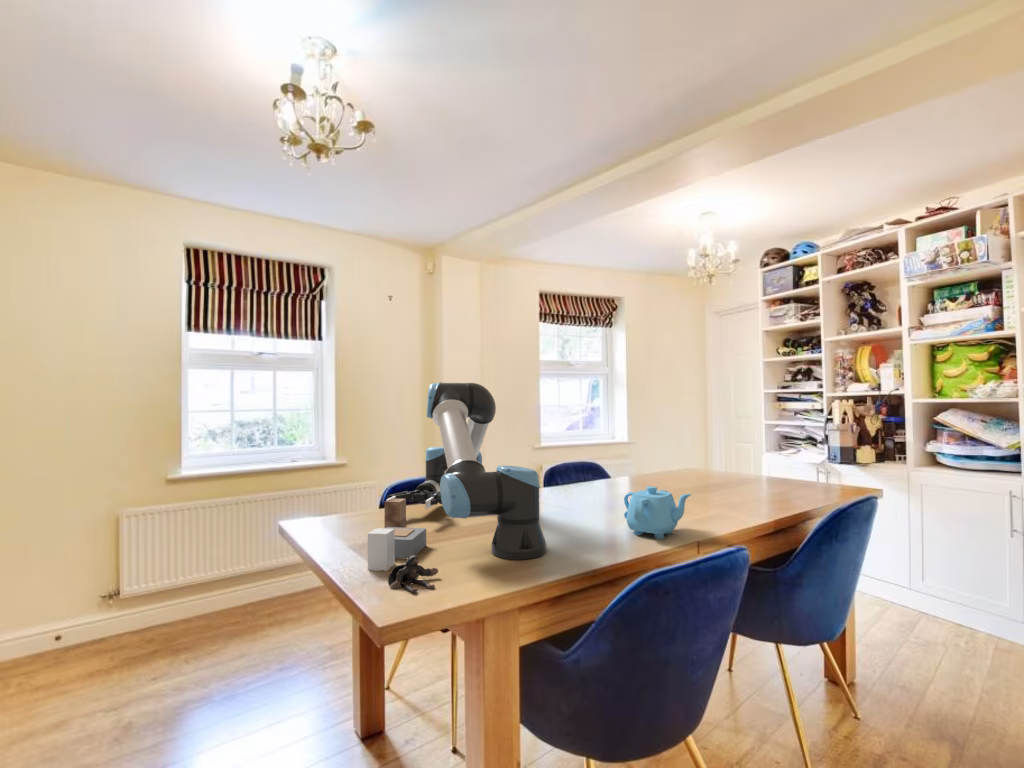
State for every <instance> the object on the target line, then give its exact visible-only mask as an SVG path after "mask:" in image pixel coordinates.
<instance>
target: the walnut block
mask: <svg viewBox="0 0 1024 768" xmlns="http://www.w3.org/2000/svg"><path fill="white" fill-rule="evenodd" d="M386 500H387V499H386ZM386 500H385V501H384V529H385V528H386V527H399V528H407V510H406V509H407V501H406V499H393V498H391V499H389V500H387V501H386Z"/></svg>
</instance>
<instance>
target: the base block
mask: <svg viewBox="0 0 1024 768" xmlns="http://www.w3.org/2000/svg"><path fill="white" fill-rule="evenodd" d="M384 529H395V559H402V558H409V557H410V556H414V555H415V556H417V555H418V554H419V553H420V552H421V551H422V550H423V549H424V548H426V547H427V528H426V527H406V528H399V527H386V528H385V527H384ZM425 546H426V547H425ZM416 554H417V555H416Z"/></svg>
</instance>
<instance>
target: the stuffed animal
mask: <svg viewBox="0 0 1024 768" xmlns="http://www.w3.org/2000/svg"><path fill="white" fill-rule="evenodd" d="M438 573H439V568H437V567H432V568H424V566H423V565H420V564H419V559H418V556H417V555H414V556H410V557H409V558H408V559H406V561H405V564H399V565H396V566H395V567H393V568H392V569H391V571H390V573H389V576H388V578H387V583H388V584H389V585H388V586H389V589H390V590H398V588H400V589H401V587H400V586H402V587H403V590H404V591H407V592H408V593H409V592H411V594H415V593H417V592H418V589H417V587H413V586H412V585H415V584H418V585H417V586H421V585H422V586H421V587H423V588H424V587H425V588H424V589H428V588H432V589H435V587H436V585H435V584H430V582H428V581H427V580H416V579H417V578H418V577H419V576H420V577H433V576H436V575H437V574H438ZM418 574H419V575H418ZM416 577H417V578H416ZM411 583H413V584H411Z"/></svg>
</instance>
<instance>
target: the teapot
mask: <svg viewBox="0 0 1024 768" xmlns="http://www.w3.org/2000/svg"><path fill="white" fill-rule="evenodd" d="M692 495H693V493H686V494H685V493H684V494H682V495H680V497H679V499H678V503H677V505H676V502H675V498H674V496H673V493H671V492H670V491H668V490H664V489H660V490H658V486H651V485H650V486H647V487H646V489H642V490H638V491H635V492H634V491H631V492H628V493H626V494H625V495H624V497H623V502H624V505H625V508H626V510H625V512H624V515H623V516H624V518H625V519H626V523H627V526H628V528H629V529H630V530H632V531H633V533H632V535H633V534H635V535H634V536H642V535H643V534H644V533H648V534H649V533H650V534H654V539H657V540H663V539H665V535H664V534H667V535H670V534H673V531H674V530H675V529H676V527H677V526H678V523H679V521H680V520H681V519H682V518H683V516H684V513H685V505H686V500H687V499H688V497H690V496H692ZM630 496H631V497H630ZM629 497H630V500H629Z"/></svg>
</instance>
